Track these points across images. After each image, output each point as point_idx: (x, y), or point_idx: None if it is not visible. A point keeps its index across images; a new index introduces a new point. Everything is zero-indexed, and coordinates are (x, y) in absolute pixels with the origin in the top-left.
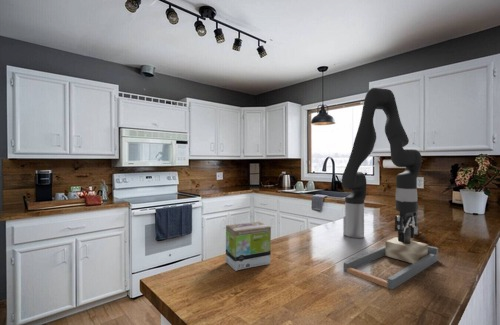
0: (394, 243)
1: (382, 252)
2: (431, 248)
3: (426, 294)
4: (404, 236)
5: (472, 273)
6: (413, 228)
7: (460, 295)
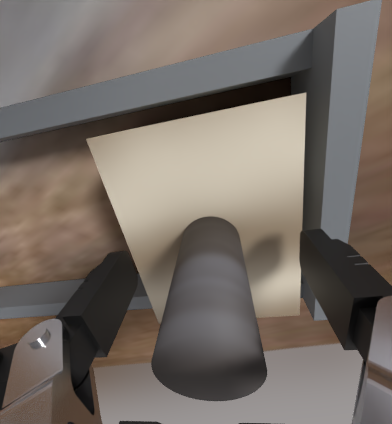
0: (115, 210)
1: (115, 114)
2: (313, 298)
3: None
4: (116, 321)
5: (270, 348)
6: (363, 356)
7: (110, 363)
